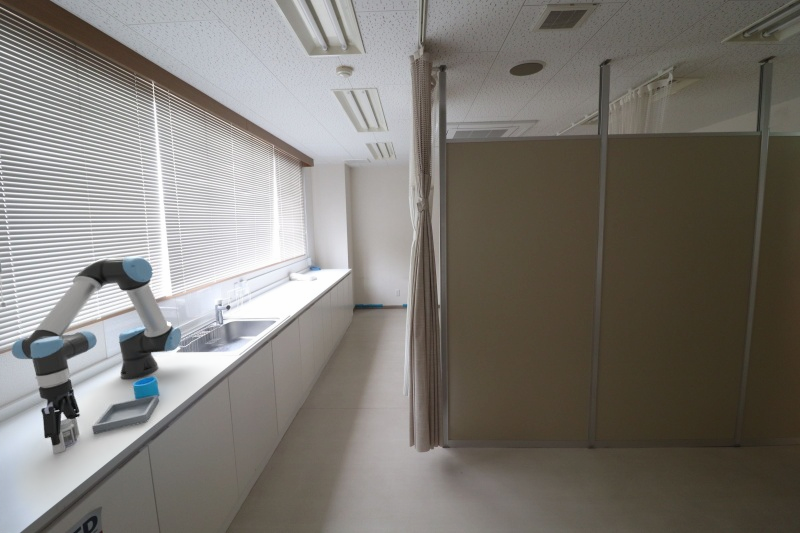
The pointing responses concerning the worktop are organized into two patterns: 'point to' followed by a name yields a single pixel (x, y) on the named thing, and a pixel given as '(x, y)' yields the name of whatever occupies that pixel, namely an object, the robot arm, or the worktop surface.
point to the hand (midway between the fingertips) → (67, 443)
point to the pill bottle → (68, 432)
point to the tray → (126, 414)
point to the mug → (146, 387)
